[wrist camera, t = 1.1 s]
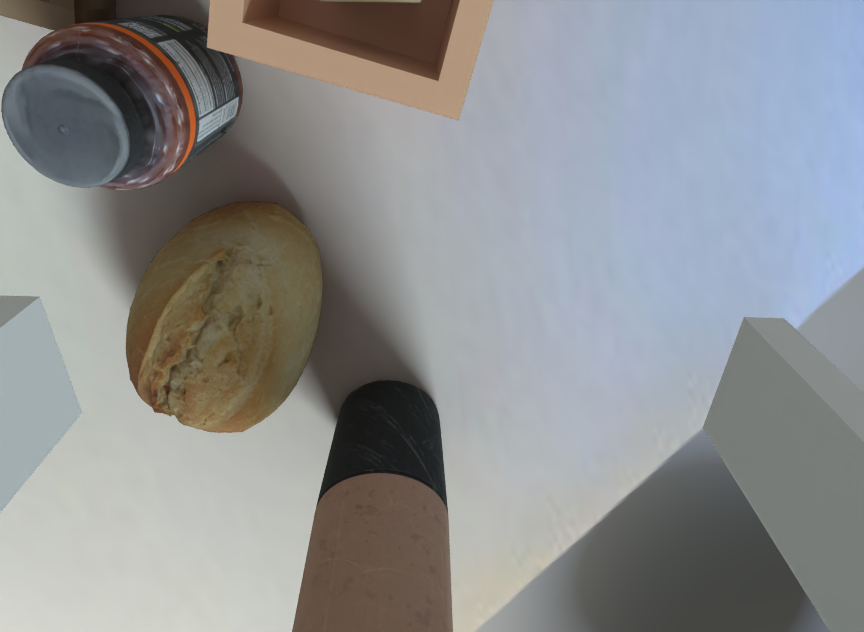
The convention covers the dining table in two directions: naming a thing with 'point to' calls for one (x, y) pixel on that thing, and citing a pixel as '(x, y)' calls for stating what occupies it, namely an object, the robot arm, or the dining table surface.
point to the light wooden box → (362, 44)
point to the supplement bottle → (120, 101)
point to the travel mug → (380, 520)
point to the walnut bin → (58, 11)
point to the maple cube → (374, 0)
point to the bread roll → (226, 317)
